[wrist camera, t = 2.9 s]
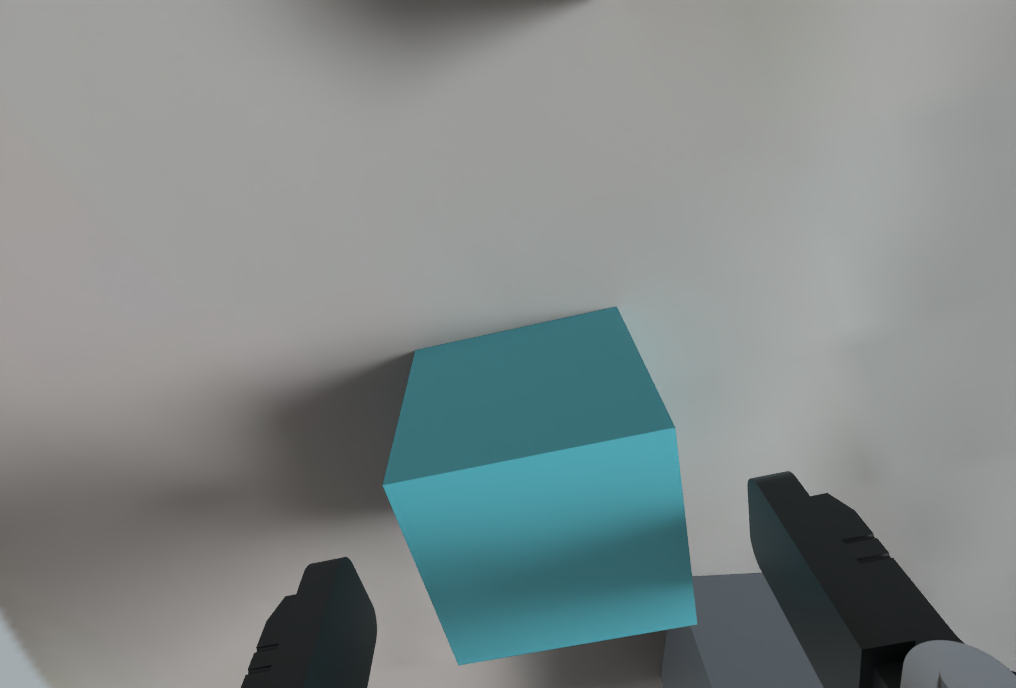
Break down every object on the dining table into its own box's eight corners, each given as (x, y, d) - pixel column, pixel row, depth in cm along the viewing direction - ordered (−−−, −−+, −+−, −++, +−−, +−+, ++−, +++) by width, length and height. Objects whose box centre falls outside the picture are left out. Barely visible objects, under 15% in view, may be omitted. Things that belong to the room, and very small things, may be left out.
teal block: (415, 348, 14) (382, 485, 10) (616, 305, 14) (674, 426, 10) (467, 498, 17) (458, 665, 12) (640, 465, 16) (697, 624, 12)
